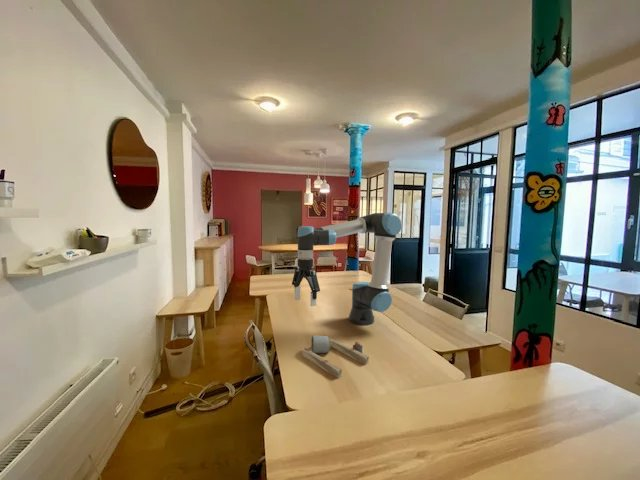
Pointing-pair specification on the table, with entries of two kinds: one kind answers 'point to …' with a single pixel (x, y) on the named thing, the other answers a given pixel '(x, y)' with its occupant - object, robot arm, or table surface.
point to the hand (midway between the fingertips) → (305, 302)
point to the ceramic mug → (320, 344)
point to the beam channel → (352, 352)
